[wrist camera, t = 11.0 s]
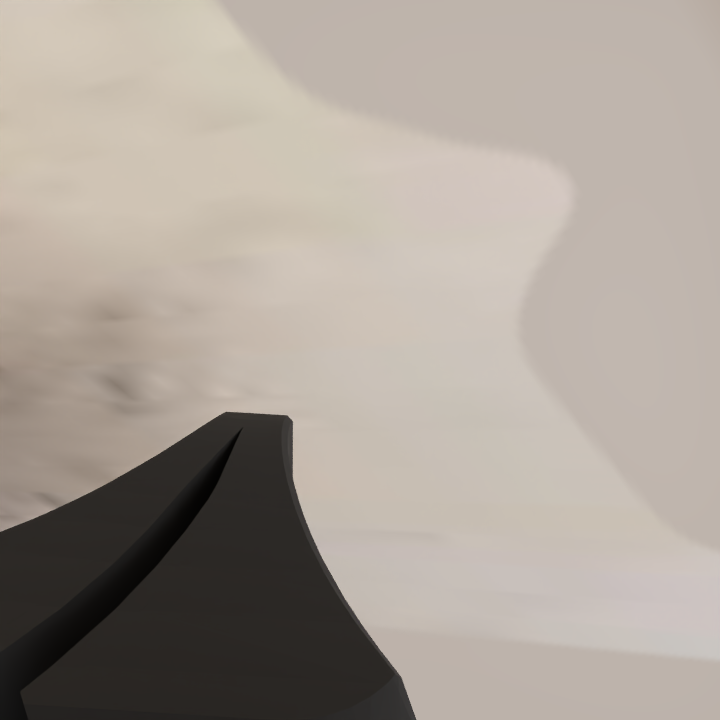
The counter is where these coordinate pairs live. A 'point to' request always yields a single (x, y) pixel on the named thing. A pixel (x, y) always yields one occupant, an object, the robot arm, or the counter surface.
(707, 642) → the counter surface
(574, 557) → the counter surface
